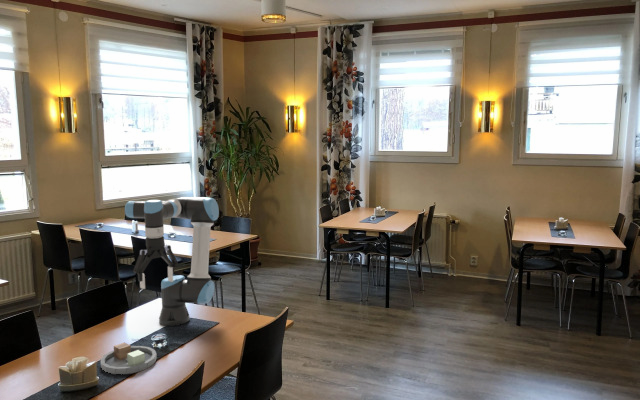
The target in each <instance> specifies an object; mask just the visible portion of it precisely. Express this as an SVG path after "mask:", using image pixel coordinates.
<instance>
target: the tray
mask: <svg viewBox="0 0 640 400" xmlns="http://www.w3.org/2000/svg"><path fill="white" fill-rule="evenodd" d="M130 346H131V352H134V351H136V350H139V351H141V352H143V353H145V362H143V363H140V364H137V365H133V366H128V360H127V357H126V358H125V359H122V360H119V359H117V358H115V357H114V349H113V350H111V351H109V352H107V353H106V354H104V355H103V356H102V357H101V359H100V368H102V369H101V370H102V371H103V370H104V371H105V372H104V371H103V372H104V373H106V372H108V373H107V374H109V373H111V374H110V375H116V374H121V375H122V374H123V375H131V374H135V373H140V372H142V371H144V370H148V369H149V368H151V367H152V366H153V365H154V364H156V362H157V359H158V358H157V356H158V355H157V351H156V350H155V349H154V348H152V347H149V346H144V345H143V346H142V345H130Z"/></svg>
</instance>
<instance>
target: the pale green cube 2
mask: <svg viewBox="0 0 640 400" xmlns="http://www.w3.org/2000/svg"><path fill="white" fill-rule="evenodd" d="M127 360H128V366H133V365H137V364H140V363H143V362H145V353H143V352H141V351H139V350H136V351H134V352H131V353H128V354H127Z"/></svg>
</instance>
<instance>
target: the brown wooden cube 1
mask: <svg viewBox="0 0 640 400" xmlns="http://www.w3.org/2000/svg"><path fill="white" fill-rule="evenodd" d="M131 346H132V345H130V344H129V343H126V342H122V343H119V344H115V345H113V350H114V357H115V358H117V359H119V360H122V359H125V358H126V357H127V354H128V353H131Z"/></svg>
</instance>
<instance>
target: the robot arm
mask: <svg viewBox="0 0 640 400" xmlns="http://www.w3.org/2000/svg"><path fill="white" fill-rule="evenodd" d="M124 214H125V216H126V218H131V219H144V223H145V224H144V226H145V227H144V229H145V231H144V233H145V234H144V235H145V246H146V249H140V250H139V251H138V253H139V255H138V257H137V260H136V262H135V265H134V267H133V270H132V272H133V273H134V274H137V281H138V282H139V288H140V289H142V290H146V278H145V277H146V275H145V273H144V271H145V270H146V269H147V267H148V265H149V264H150V262H151V261H152V260H153V259H157V258H158V259H159V258H162V260H163V261H164V262H165V263H166V264H167V265H168V266H167V277H166V278H165V277H164V279H162V280H161V283H160V286H161V287H160V289H161V310H160V315H159V318H158V321H159V322H158V323H159V324H160V325H162V326H166V327H168V326H169V327H174V326H175V325H176V326H180V324H181V325H184V324H187V323H188V322H189V321H190V314H189V313H190V312H189V310H188V309H187V305H186V304H187V303H188V304H198V305H200V304H201V305H202V304H203V305H204V304H208V303H209V302H210V301H211V300H212V298H213V296H214V293H215V282H214V281H213V280H211V279H212V277H211V276H210V274H209V262H210V261H209V260H210V259H209V258H210V244H211V242H210V241H211V227H212V226H213V225H214V223H215V221H217V220H218V218H219V214H220V210H219V205H218V202H217V201H216V199H215V198H213V197H208V196H206V197H205V196H201V197H200V196H199V197H198V196H195V197H194V196H181V197H177V198H170V199H167V200H161V199H149V200H143V201H142V200H140V201H139V200H129V201H127V202H126V203H125V206H124ZM171 218H172V219H173V218H175V219H176V218H177V219H183V220H190V224H191V225H192V226H193V233H192V244H191V245H192V247H191V263H190V273H189V274H188V275H187V276H186V277H187V278H186V277H185V276H184V275H181V274H180V275H179V274H178V275H174V273H175V267H176V266H177V265H179V262H178V260H177V258H176V256H175V255H174V253H173V251H172V247H171V245H170V244H166V245H165V237H164V234H165V233H164V230H165V229H164V220H168V219H171ZM164 252H166V253H167V255H168V256H167V255H166V253H164ZM185 278H186V279H185Z"/></svg>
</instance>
